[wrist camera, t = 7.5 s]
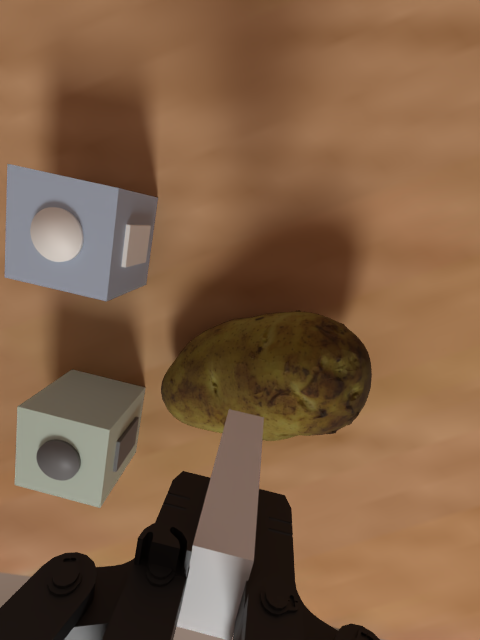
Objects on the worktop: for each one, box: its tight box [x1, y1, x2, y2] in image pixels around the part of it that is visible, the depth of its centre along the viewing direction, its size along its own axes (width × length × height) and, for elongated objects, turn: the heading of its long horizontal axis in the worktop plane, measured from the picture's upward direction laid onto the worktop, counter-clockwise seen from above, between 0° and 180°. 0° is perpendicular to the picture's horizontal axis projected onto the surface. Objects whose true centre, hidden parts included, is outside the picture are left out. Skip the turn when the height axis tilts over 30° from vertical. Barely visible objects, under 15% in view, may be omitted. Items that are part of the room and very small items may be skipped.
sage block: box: [15, 369, 145, 508], centre depth 25 cm, size 6×6×6 cm
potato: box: [161, 311, 372, 441], centre depth 22 cm, size 8×13×8 cm, turn 90°
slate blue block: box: [5, 164, 158, 301], centre depth 21 cm, size 6×6×6 cm
